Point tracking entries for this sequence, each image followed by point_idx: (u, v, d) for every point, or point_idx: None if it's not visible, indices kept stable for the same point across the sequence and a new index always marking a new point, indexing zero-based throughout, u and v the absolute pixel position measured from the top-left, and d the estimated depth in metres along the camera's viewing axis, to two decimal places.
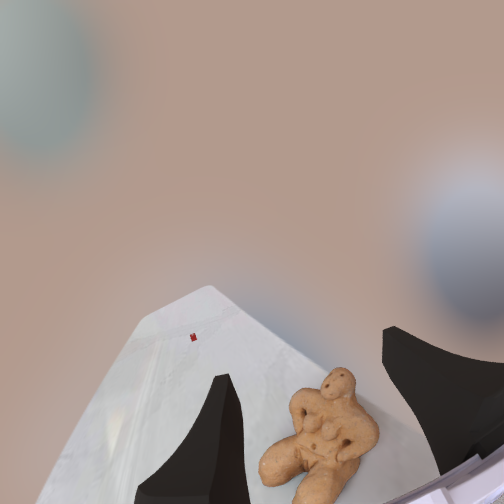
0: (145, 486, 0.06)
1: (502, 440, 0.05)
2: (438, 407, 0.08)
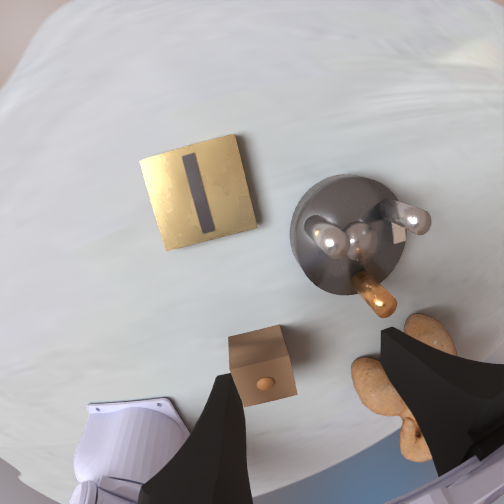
0: (148, 486, 0.06)
1: (500, 442, 0.05)
2: (436, 408, 0.08)
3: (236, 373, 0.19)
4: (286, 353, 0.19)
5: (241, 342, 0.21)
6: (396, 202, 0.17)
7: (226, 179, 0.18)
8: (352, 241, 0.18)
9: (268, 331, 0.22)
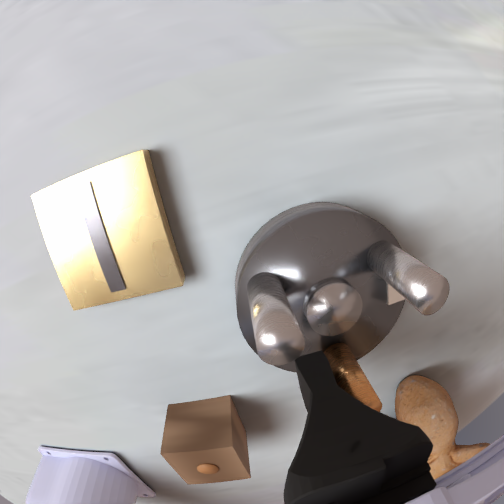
0: (298, 469, 0.06)
1: None
2: None
3: (169, 458, 0.13)
4: (229, 443, 0.13)
5: (180, 416, 0.15)
6: (394, 252, 0.11)
7: (133, 217, 0.12)
8: (322, 310, 0.12)
9: (215, 403, 0.16)
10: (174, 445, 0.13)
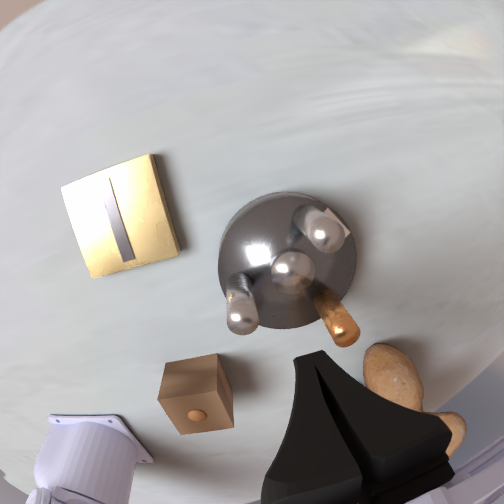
0: (275, 474, 0.06)
1: (408, 497, 0.05)
2: (348, 446, 0.08)
3: (165, 404, 0.17)
4: (214, 388, 0.17)
5: (175, 370, 0.20)
6: (302, 214, 0.14)
7: (142, 204, 0.16)
8: (283, 278, 0.16)
9: (204, 360, 0.20)
10: (169, 392, 0.17)
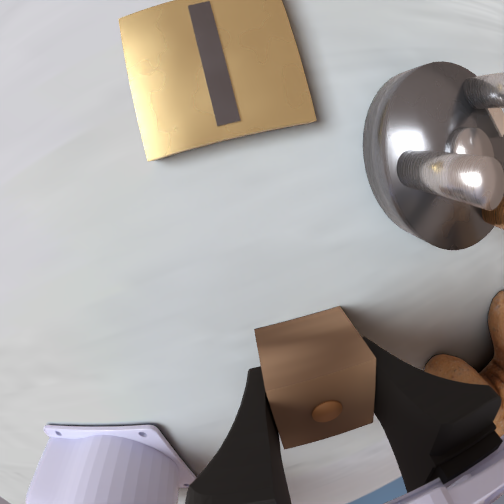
0: (197, 485, 0.06)
1: (466, 465, 0.05)
2: (402, 425, 0.08)
3: (277, 398, 0.10)
4: (370, 355, 0.10)
5: (279, 339, 0.12)
6: (487, 77, 0.07)
7: (262, 38, 0.09)
8: None
9: (325, 318, 0.13)
10: (285, 376, 0.10)
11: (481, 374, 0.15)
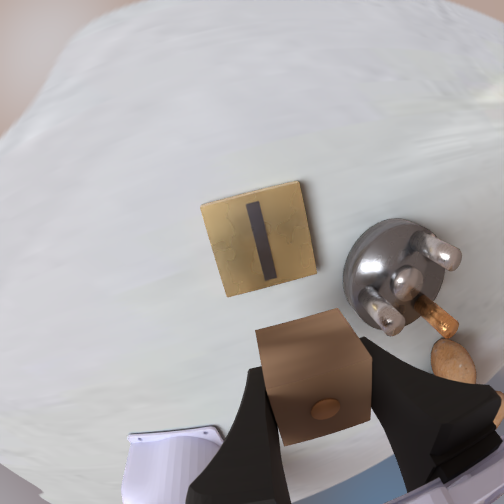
0: (197, 485, 0.06)
1: (466, 465, 0.05)
2: (402, 425, 0.08)
3: (277, 396, 0.10)
4: (366, 354, 0.10)
5: (279, 340, 0.12)
6: (424, 240, 0.17)
7: (290, 227, 0.18)
8: (402, 289, 0.18)
9: (323, 319, 0.13)
10: (285, 374, 0.10)
11: None
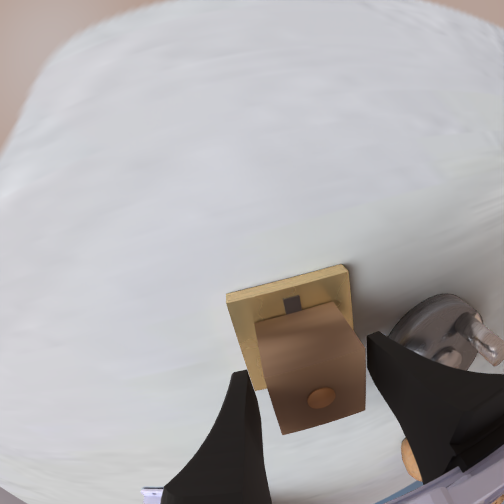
0: (171, 486, 0.06)
1: (484, 453, 0.05)
2: (419, 416, 0.08)
3: (275, 385, 0.11)
4: (359, 345, 0.11)
5: (277, 332, 0.13)
6: (472, 328, 0.13)
7: None
8: None
9: (319, 312, 0.14)
10: (282, 364, 0.11)
11: None
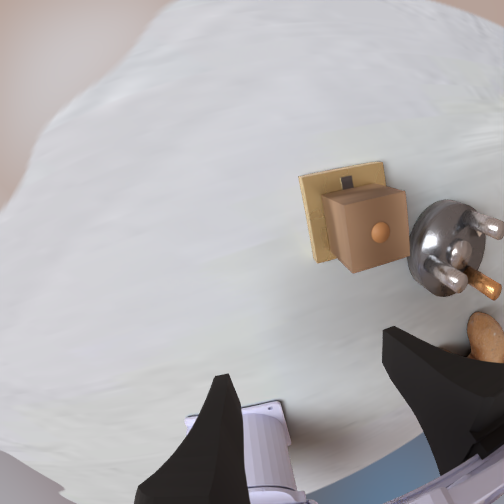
0: (144, 486, 0.06)
1: (502, 440, 0.05)
2: (438, 407, 0.08)
3: (350, 213, 0.15)
4: (401, 191, 0.15)
5: (341, 194, 0.18)
6: (475, 216, 0.18)
7: None
8: (457, 258, 0.20)
9: (366, 186, 0.18)
10: (352, 200, 0.16)
11: None
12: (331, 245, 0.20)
